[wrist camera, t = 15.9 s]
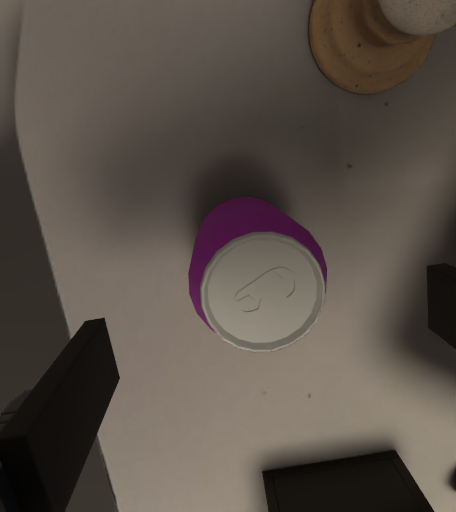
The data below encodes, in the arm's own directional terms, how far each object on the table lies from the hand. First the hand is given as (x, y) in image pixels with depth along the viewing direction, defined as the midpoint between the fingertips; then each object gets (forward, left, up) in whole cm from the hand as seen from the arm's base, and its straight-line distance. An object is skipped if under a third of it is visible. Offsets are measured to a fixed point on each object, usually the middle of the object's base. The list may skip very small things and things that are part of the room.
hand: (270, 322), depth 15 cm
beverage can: (0, 0, -16) cm, 16 cm away
